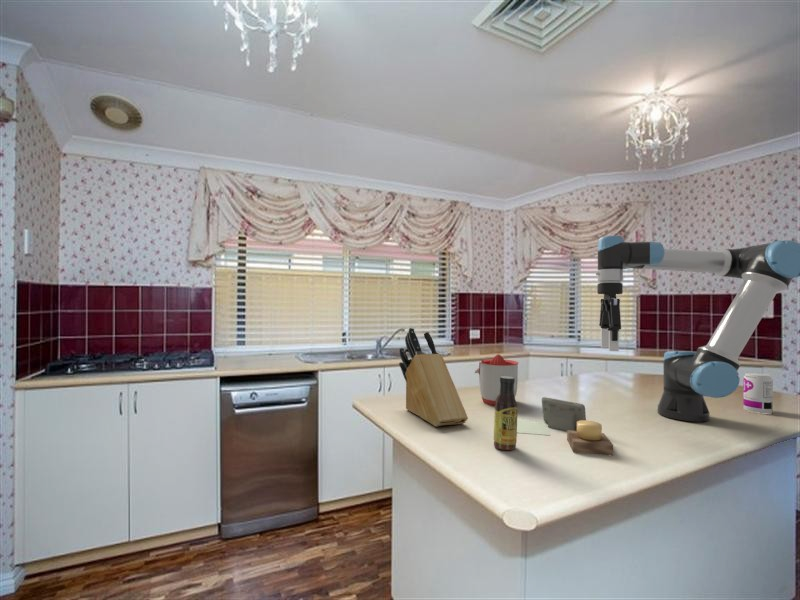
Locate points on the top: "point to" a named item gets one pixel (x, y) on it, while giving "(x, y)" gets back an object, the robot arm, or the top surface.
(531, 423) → the pad
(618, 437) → the top surface
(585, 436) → the yellow rounded cube
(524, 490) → the top surface
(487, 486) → the top surface
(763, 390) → the supplement can
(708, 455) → the top surface
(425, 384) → the knife block
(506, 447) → the sauce bottle
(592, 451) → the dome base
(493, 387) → the citrus juicer
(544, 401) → the digital clock
